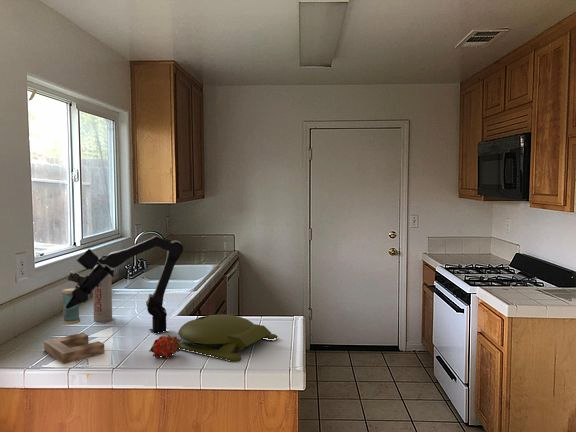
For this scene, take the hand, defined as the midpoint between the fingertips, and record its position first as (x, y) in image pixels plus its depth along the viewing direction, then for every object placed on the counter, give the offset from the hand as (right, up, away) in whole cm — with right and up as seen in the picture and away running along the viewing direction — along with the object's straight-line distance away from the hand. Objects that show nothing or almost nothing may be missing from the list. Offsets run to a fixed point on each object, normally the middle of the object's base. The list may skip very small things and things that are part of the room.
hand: (67, 306), depth 197 cm
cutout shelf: (+9, -15, -14) cm, 22 cm away
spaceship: (+62, -15, -2) cm, 64 cm away
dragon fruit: (+44, -15, -18) cm, 50 cm away
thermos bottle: (+3, -11, +29) cm, 31 cm away
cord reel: (+1, -7, +1) cm, 7 cm away
